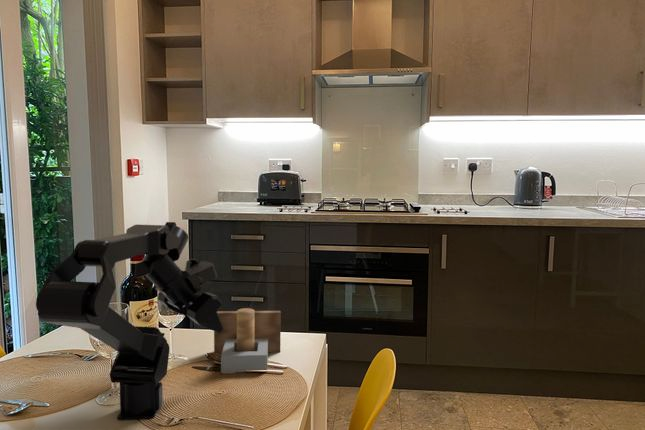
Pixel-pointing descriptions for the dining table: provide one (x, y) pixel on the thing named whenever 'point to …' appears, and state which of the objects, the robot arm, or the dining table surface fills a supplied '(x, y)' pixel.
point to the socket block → (244, 357)
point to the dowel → (245, 329)
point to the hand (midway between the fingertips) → (210, 325)
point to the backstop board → (263, 329)
